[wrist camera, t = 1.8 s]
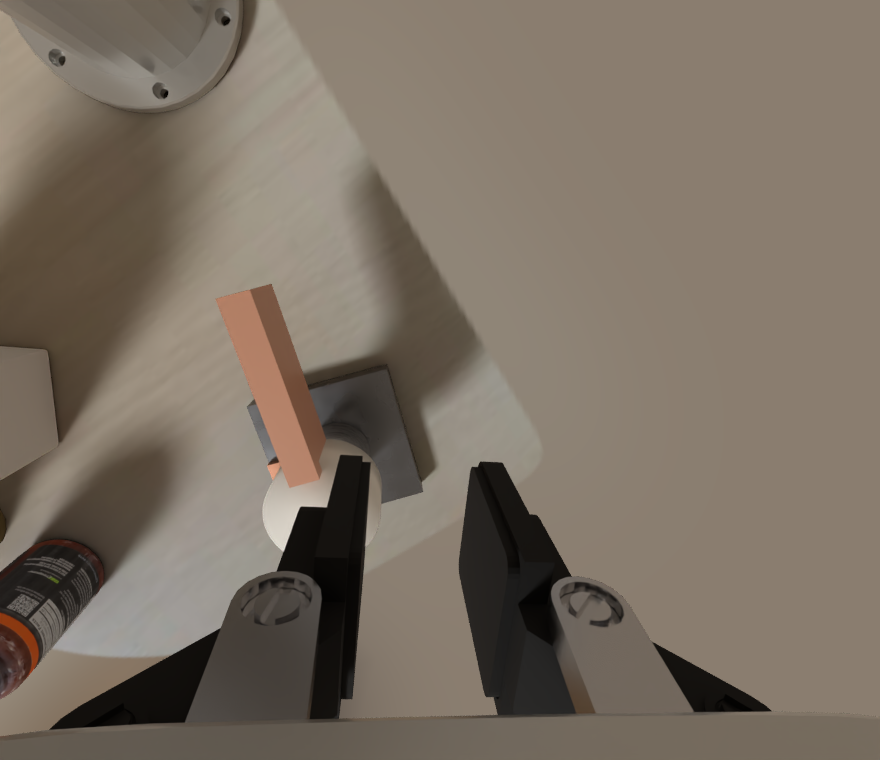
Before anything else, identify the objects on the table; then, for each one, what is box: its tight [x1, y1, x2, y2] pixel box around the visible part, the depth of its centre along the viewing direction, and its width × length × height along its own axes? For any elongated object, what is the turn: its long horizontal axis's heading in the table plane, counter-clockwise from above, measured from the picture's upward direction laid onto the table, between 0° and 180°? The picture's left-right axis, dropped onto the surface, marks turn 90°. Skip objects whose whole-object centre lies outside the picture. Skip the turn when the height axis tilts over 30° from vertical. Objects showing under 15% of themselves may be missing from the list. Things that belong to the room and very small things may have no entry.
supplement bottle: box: [0, 539, 104, 699], centre depth 30 cm, size 6×6×11 cm
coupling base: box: [247, 364, 423, 504], centre depth 32 cm, size 10×10×6 cm
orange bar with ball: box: [216, 284, 382, 552], centre depth 25 cm, size 16×6×4 cm, turn 14°
